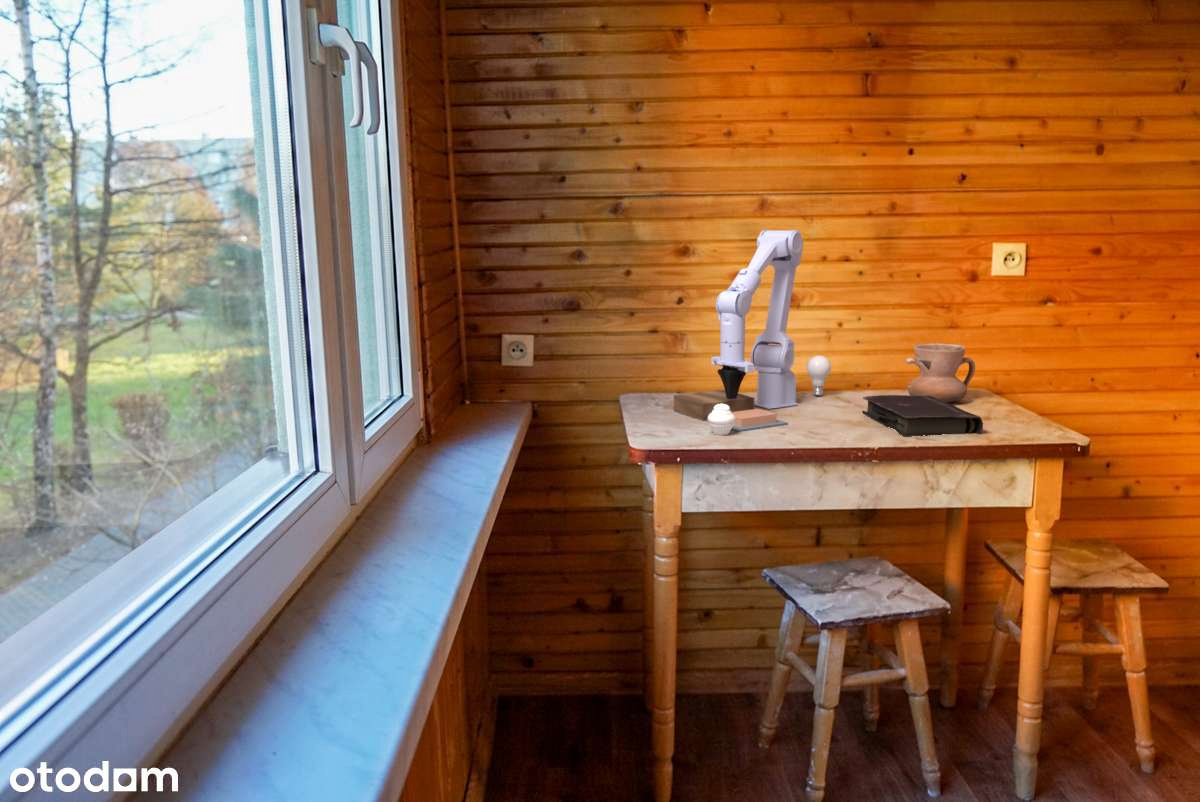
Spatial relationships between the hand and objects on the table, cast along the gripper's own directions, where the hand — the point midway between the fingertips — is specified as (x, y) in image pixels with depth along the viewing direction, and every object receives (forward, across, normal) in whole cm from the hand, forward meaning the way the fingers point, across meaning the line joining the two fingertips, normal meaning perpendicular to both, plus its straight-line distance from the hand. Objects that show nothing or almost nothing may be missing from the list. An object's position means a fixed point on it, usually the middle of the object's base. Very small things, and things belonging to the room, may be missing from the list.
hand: (731, 398), depth 224 cm
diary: (+6, +27, +33) cm, 43 cm away
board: (+5, -8, 0) cm, 9 cm away
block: (+2, +7, 0) cm, 8 cm away
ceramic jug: (+5, +11, +58) cm, 59 cm away
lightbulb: (+5, -10, +36) cm, 37 cm away
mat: (+5, +6, 0) cm, 8 cm away
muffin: (+5, +12, -12) cm, 17 cm away
